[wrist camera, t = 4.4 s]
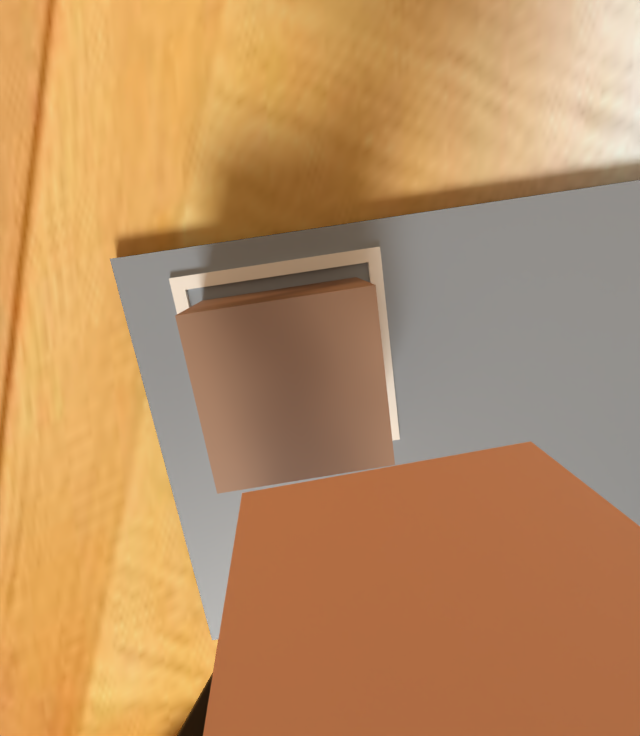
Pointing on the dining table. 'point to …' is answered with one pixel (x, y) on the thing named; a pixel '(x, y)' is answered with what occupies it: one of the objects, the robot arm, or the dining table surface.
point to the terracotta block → (431, 605)
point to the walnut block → (289, 383)
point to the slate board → (429, 340)
